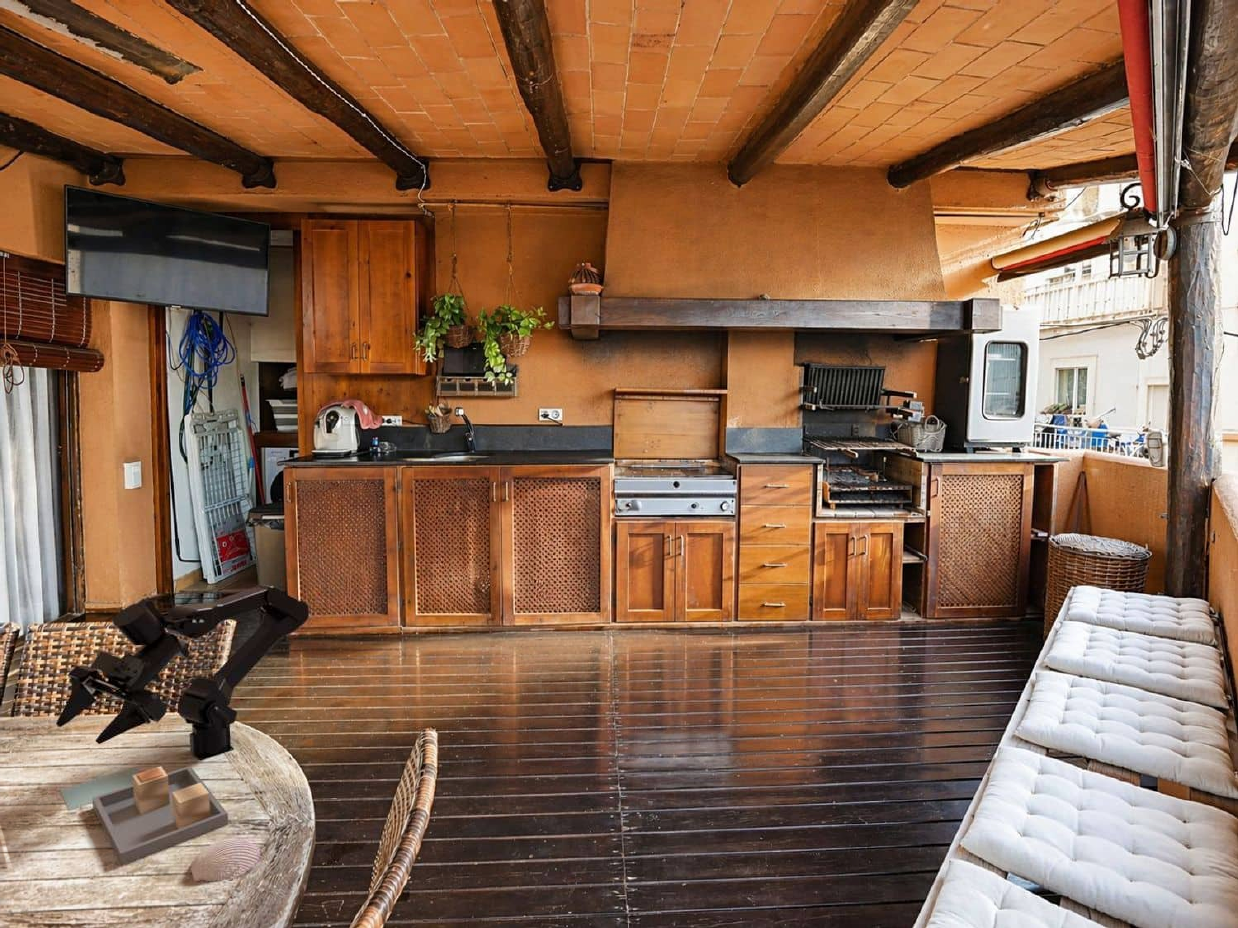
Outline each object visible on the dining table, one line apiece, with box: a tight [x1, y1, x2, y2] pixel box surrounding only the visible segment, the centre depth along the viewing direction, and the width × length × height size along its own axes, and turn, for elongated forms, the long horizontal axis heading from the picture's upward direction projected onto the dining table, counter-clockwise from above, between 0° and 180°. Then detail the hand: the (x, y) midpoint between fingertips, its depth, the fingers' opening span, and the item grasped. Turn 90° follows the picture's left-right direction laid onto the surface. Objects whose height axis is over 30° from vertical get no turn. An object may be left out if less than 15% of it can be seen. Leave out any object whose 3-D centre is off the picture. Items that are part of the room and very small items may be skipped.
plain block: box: [172, 783, 210, 829], centre depth 127 cm, size 4×4×6 cm
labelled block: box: [132, 765, 170, 814], centre depth 132 cm, size 4×4×6 cm
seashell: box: [189, 838, 261, 884], centre depth 117 cm, size 10×6×10 cm
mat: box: [59, 766, 140, 811], centre depth 138 cm, size 12×9×1 cm
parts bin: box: [92, 765, 229, 867], centre depth 129 cm, size 16×22×2 cm
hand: (77, 733), depth 128 cm, fingers open, 9 cm apart
